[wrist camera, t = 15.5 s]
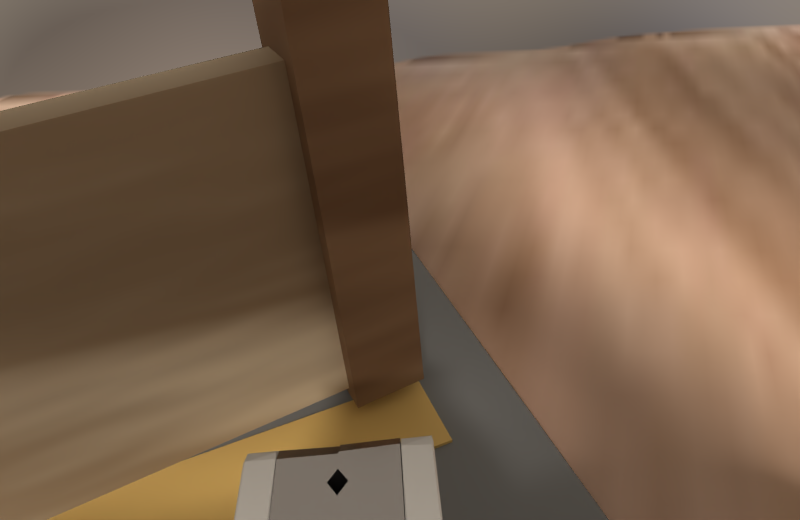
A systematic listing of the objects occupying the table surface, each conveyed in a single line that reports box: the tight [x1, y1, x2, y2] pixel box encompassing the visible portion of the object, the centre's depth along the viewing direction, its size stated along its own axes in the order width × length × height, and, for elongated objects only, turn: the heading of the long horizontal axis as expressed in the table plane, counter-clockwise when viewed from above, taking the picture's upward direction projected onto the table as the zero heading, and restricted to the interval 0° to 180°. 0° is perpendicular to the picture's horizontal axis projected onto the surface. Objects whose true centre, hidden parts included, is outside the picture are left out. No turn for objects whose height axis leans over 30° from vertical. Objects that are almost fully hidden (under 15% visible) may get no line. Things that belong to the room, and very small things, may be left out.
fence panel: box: [0, 0, 424, 520], centre depth 13 cm, size 2×15×11 cm, turn 117°
